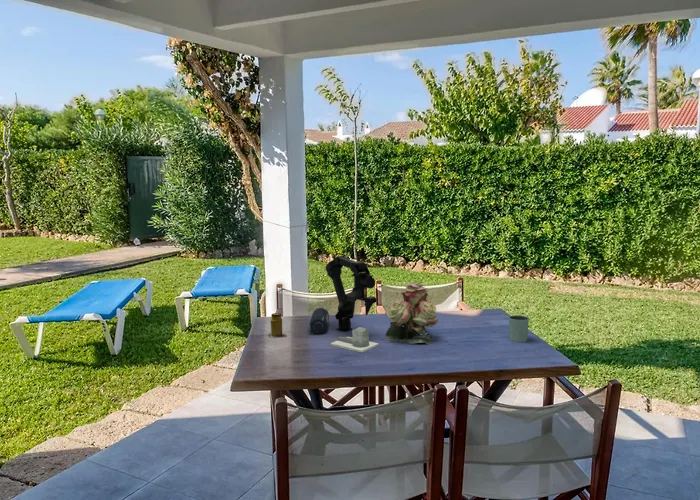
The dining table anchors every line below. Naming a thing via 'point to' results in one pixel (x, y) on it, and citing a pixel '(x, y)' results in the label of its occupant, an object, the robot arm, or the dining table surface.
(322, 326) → the portable speaker
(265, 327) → the dining table surface
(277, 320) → the condiment
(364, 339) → the brushed grey cube
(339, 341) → the board
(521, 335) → the green cup
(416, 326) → the rose bouquet
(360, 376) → the dining table surface
